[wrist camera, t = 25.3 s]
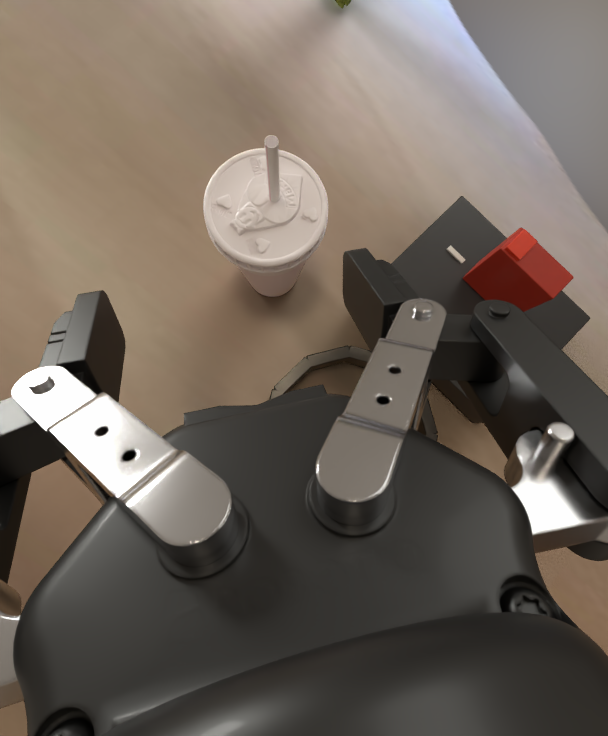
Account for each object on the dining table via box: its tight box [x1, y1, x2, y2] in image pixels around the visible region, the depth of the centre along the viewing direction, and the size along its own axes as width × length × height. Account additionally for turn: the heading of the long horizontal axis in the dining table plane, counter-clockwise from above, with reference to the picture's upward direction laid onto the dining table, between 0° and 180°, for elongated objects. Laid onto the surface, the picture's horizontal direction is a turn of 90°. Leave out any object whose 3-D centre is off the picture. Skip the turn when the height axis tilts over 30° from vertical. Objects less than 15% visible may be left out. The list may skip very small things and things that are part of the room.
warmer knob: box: [463, 228, 573, 312], centre depth 25 cm, size 4×2×5 cm, turn 45°
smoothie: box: [203, 135, 328, 297], centre depth 23 cm, size 6×6×14 cm
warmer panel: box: [391, 196, 590, 423], centre depth 29 cm, size 11×12×3 cm
